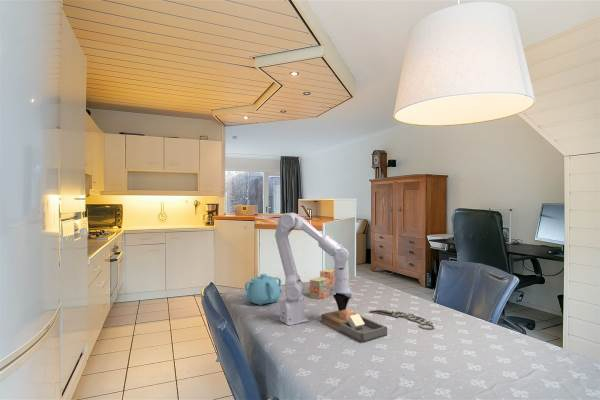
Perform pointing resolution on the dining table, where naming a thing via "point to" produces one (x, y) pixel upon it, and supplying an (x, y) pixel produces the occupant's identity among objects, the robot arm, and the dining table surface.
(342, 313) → the salmon cube
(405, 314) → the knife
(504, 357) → the dining table surface
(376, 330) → the gray box
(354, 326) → the cream tile
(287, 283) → the robot arm
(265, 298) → the decorative pot
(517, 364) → the dining table surface
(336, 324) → the wooden square board
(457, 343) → the dining table surface
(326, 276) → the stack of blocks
